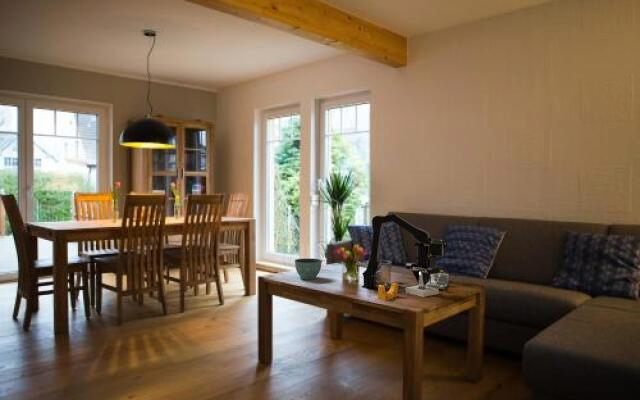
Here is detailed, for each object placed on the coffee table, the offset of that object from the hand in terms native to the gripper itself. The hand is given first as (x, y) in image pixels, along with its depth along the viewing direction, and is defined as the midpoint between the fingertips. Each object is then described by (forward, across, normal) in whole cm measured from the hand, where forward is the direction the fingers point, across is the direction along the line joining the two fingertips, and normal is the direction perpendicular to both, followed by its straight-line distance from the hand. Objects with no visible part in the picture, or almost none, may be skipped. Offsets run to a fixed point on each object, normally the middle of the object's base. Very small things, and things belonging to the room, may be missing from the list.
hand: (422, 284), depth 248 cm
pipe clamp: (+5, +2, +22) cm, 23 cm away
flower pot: (+5, +63, +28) cm, 69 cm away
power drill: (+5, +18, -32) cm, 36 cm away
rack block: (+5, 0, 0) cm, 5 cm away
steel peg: (+4, 0, 0) cm, 4 cm away
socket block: (+5, +14, 0) cm, 15 cm away
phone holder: (+5, +5, -18) cm, 19 cm away
